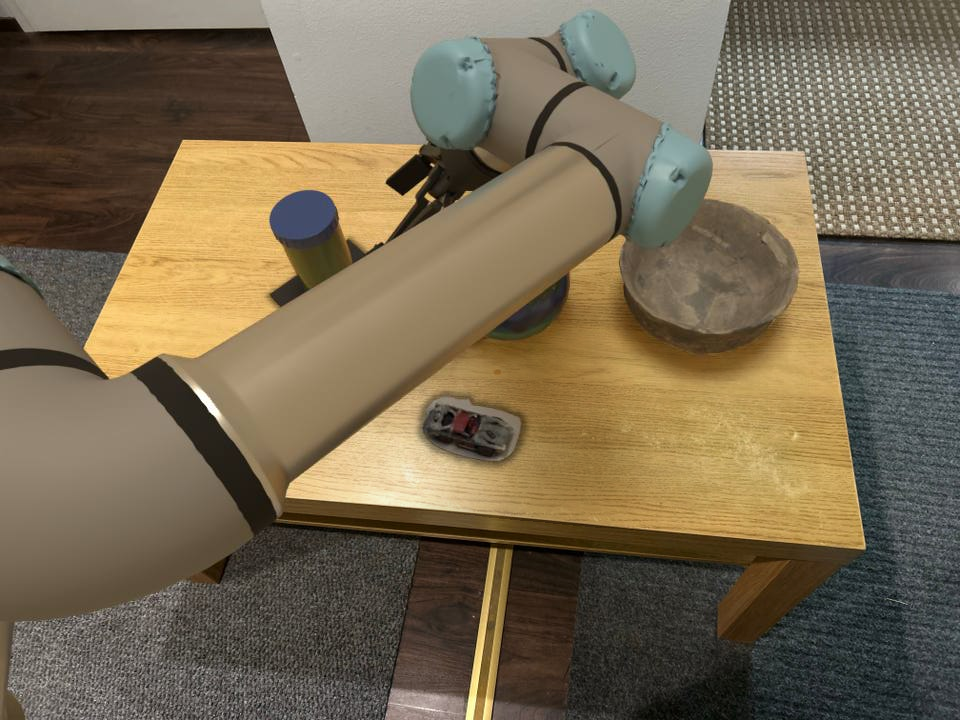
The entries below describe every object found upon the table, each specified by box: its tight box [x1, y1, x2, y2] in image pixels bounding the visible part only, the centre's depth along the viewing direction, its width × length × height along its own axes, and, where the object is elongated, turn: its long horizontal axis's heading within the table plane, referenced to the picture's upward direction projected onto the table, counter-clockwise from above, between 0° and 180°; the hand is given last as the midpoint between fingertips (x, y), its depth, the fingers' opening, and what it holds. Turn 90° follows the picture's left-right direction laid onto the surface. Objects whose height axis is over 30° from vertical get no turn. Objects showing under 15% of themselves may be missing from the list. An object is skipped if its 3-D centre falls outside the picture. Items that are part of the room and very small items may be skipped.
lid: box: [268, 189, 340, 249], centre depth 84 cm, size 8×8×2 cm
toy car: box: [422, 396, 522, 462], centre depth 82 cm, size 8×12×3 cm
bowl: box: [618, 198, 800, 356], centre depth 86 cm, size 21×21×10 cm
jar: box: [281, 222, 353, 292], centre depth 90 cm, size 8×8×14 cm
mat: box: [269, 238, 365, 308], centre depth 96 cm, size 14×12×1 cm
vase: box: [484, 272, 571, 342], centre depth 87 cm, size 15×15×13 cm
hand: (378, 228), depth 82 cm, fingers open, 13 cm apart
